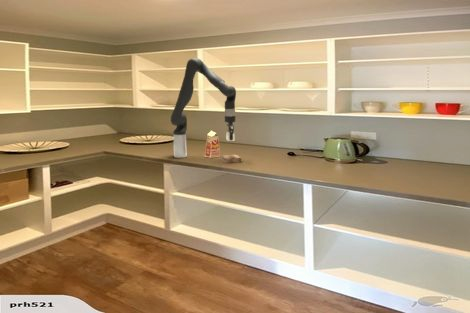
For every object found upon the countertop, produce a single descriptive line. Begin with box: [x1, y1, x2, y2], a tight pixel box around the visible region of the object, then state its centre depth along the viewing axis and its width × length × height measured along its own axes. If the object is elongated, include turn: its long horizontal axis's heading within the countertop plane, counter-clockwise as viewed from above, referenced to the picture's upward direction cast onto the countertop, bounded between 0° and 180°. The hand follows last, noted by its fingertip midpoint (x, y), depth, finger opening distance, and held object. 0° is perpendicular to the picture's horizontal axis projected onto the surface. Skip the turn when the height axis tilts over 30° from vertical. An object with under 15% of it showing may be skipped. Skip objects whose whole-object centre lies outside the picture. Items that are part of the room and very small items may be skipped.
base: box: [220, 154, 242, 164], centre depth 272 cm, size 12×12×3 cm
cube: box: [225, 130, 236, 142], centre depth 268 cm, size 5×5×6 cm
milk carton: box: [204, 130, 221, 159], centre depth 287 cm, size 9×9×20 cm
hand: (230, 139), depth 269 cm, fingers closed on cube, 5 cm apart
